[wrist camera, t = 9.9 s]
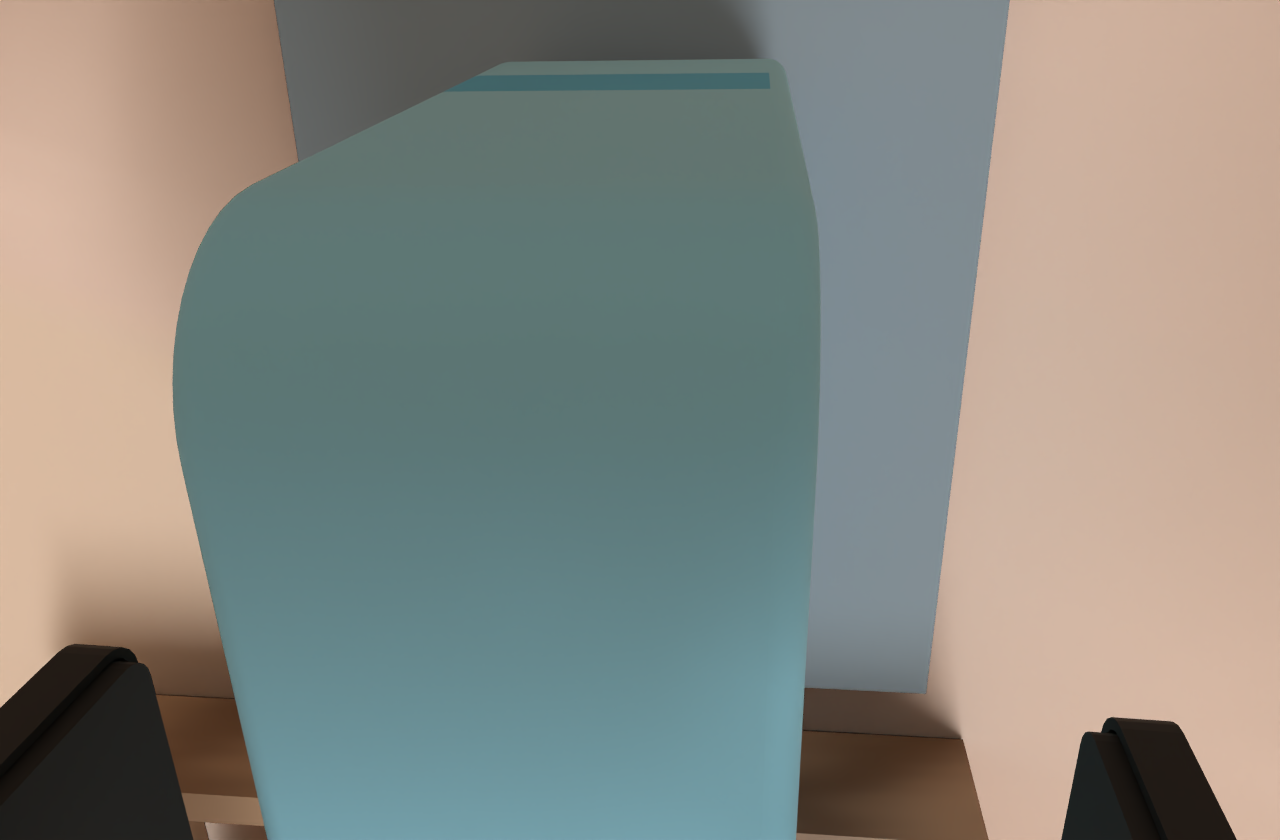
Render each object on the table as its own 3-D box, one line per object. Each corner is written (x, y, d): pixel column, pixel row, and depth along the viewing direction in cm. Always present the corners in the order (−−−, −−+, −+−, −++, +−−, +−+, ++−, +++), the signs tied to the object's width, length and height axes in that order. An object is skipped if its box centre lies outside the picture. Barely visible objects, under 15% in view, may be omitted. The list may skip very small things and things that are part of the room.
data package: (512, 51, 17) (109, 237, 7) (784, 48, 17) (832, 241, 6) (552, 640, 22) (360, 1295, 12) (763, 649, 22) (769, 1341, 11)
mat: (1004, -28, 17) (1012, -27, 16) (921, 675, 23) (925, 693, 22) (286, -16, 18) (272, -14, 17) (385, 649, 24) (376, 665, 23)
